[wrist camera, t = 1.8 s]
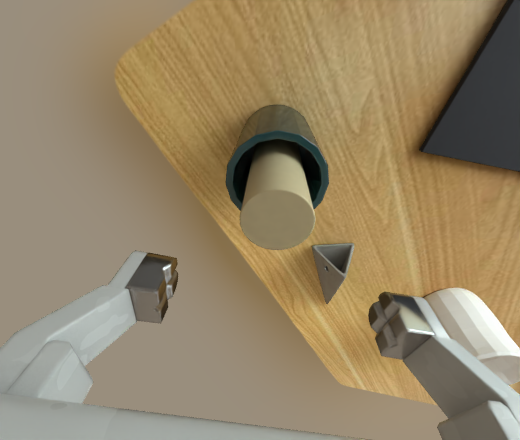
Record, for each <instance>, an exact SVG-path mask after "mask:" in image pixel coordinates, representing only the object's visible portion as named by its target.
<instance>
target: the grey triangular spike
mask: <svg viewBox="0 0 520 440" xmlns="http://www.w3.org/2000/svg"><path fill="white" fill-rule="evenodd" d="M312 250H313V255H314V259H315V263H316V267H317V271H318V275H319V279H320V283H321V287H322V291H323V295H324V298H325V302H326V304H328V303H329V301H330V300H331V299H332V297H333V296H334V294H335V293H336V291H337V290H338V288H339V287H340V286H341V284H342V283H343V281H344V279H345V278H346V275H347V272H348V268H349V265H350V261H351V257H352V253H353V250H354V244H353V243H346V244H327V245H314V246H312Z"/></svg>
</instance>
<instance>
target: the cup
mask: <svg viewBox="0 0 520 440" xmlns="http://www.w3.org/2000/svg"><path fill="white" fill-rule="evenodd" d="M424 299H425V300H426V301H427V302H428V304H429V305H430V307H431V309H432V310H433V312H434V313H435V315H436V317H437V318H438V320H439V321H440V323H441V325H442V326H443V328H444V330H445V331H446V333H447V334H448V336H449V338H450V339H454V340H456V341H457V342H458V343H459V344H460V345H461V346H463V347H464V348H465V349H466V350H467V351H469V352H470V353H471V354H472V355H473V356H474V357H476V358H477V359H478V360H479V361H480V362H481V363H483V364H484V365H485V366H486V367H487V368H489V369H490V370H491V371H492V372H493V373H494V374H496V375H497V376H498V377H499V378H500V379H502V380H503V381H504V382H505V383H506V384H507V385H510V384H514V383H516V382H519V381H520V348H519V347H518V346H517V345H516V344H515V342H514V341H513V340H512V339H511V338H510V336H509V335H508V334H507V332H506V331H505V329H504V328H503V326H502V325H501V323H500V322H499V321H498V319H497V318H496V316H495V315H494V314H493V313H492V312H491V310H490V309H489V308H488V307H487V306H486V304H485V303H484V302H483V301H482V300H481V299H480V298H479V297H478V296H476V295H475V294H474V293H472V292H470V291H468V290H466V289H463V288H447V289H443V290H439V291H436V292H434V293H432V294H429V295H427V296H426V297H424Z"/></svg>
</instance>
